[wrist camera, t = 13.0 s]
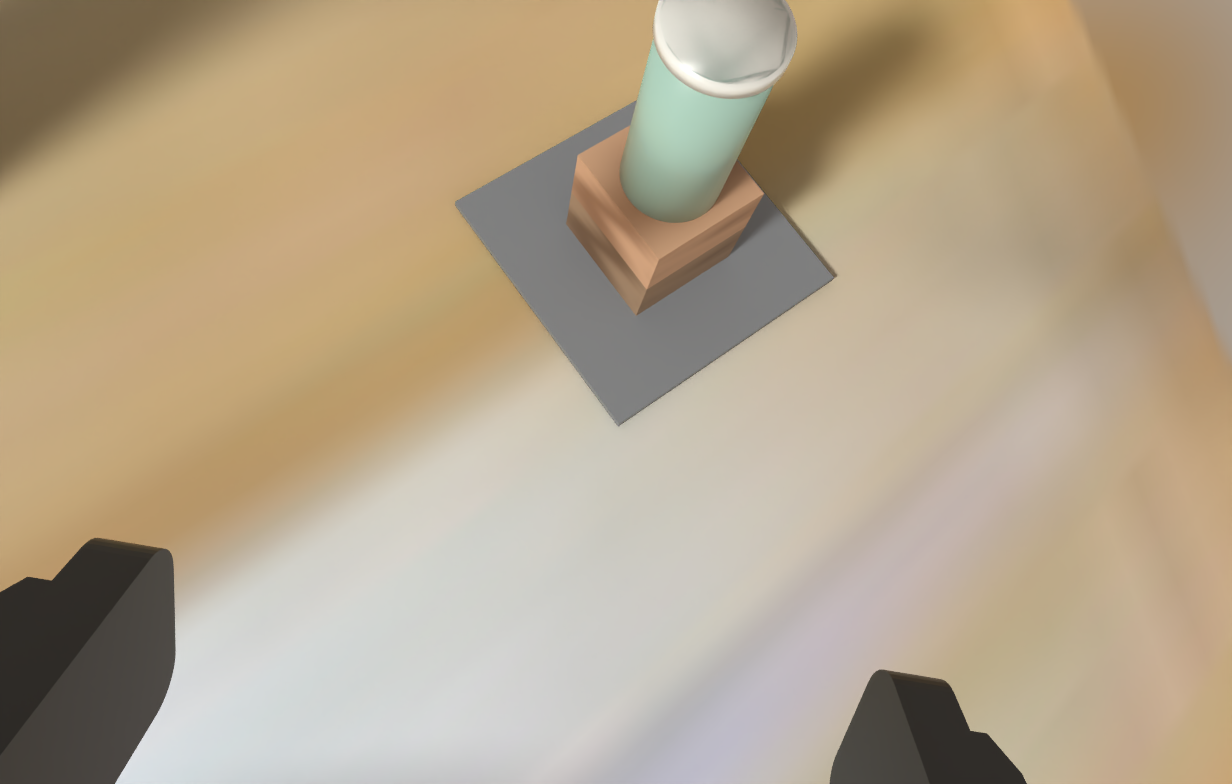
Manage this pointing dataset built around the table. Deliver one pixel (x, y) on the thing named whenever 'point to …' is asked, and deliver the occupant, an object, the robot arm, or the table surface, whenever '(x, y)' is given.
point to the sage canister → (701, 100)
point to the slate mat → (596, 313)
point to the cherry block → (648, 240)
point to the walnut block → (621, 271)
